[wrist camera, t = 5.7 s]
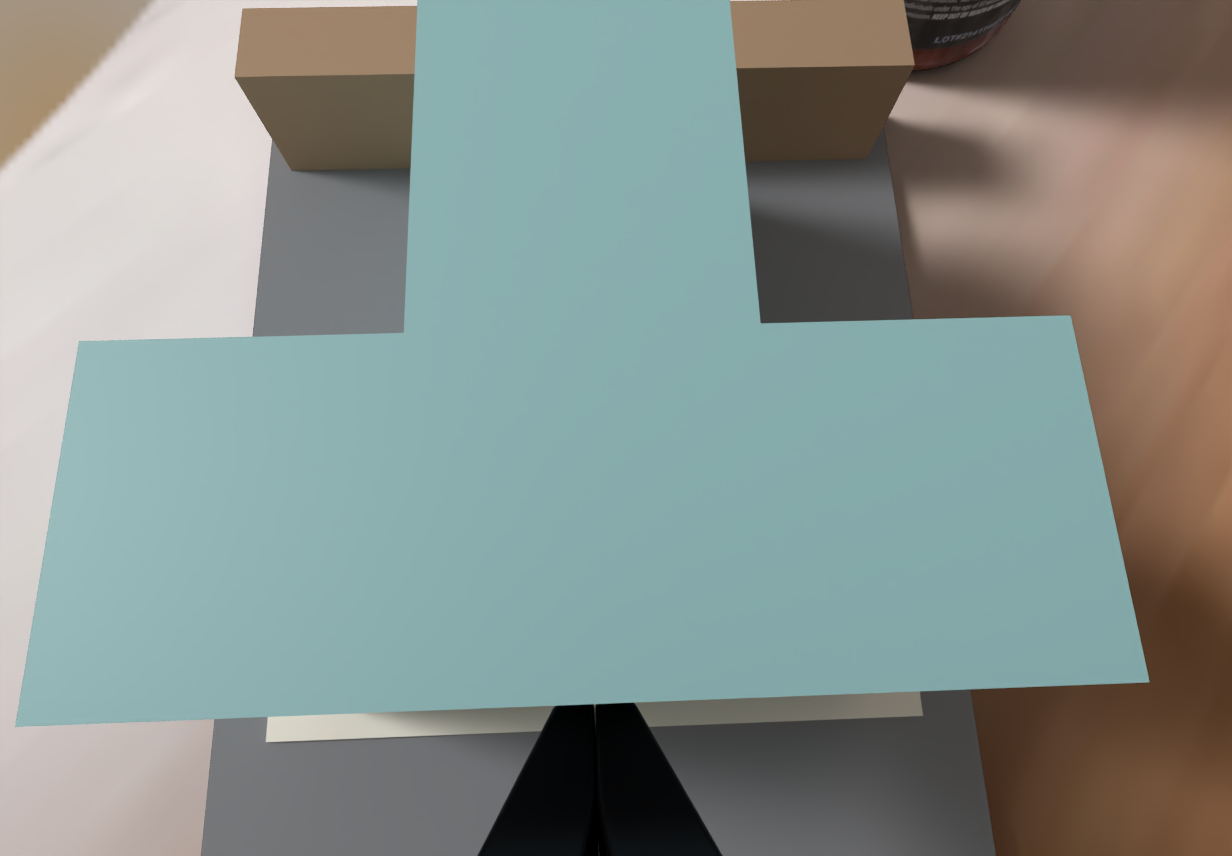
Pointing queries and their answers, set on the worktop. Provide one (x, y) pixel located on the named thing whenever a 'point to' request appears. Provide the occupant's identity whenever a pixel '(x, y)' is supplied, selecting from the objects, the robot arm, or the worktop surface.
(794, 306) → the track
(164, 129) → the worktop surface
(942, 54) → the supplement bottle
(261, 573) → the t slider
